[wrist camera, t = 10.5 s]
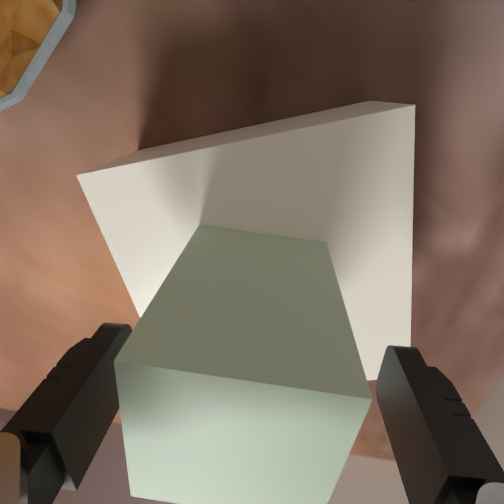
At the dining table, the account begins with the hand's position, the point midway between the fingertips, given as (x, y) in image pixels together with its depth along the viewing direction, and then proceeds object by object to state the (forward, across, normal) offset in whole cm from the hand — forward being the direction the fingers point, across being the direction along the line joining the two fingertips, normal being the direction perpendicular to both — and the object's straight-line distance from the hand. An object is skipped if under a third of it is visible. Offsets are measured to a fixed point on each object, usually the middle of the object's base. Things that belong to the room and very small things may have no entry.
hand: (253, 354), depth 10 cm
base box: (+10, 0, 0) cm, 10 cm away
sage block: (+4, 0, 0) cm, 4 cm away
